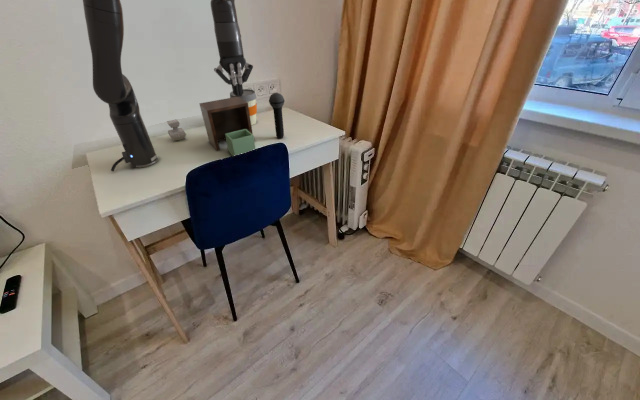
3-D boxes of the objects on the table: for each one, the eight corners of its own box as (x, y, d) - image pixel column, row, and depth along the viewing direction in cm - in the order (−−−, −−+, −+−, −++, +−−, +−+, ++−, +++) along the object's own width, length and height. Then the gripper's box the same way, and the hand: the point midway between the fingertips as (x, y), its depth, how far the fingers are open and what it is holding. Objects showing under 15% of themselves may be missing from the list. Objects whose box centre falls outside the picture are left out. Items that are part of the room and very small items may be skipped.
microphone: (276, 141, 126) (271, 96, 114) (271, 136, 130) (265, 92, 118) (289, 138, 128) (286, 93, 116) (284, 133, 133) (280, 90, 121)
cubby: (216, 150, 119) (206, 110, 108) (209, 141, 126) (199, 103, 116) (253, 141, 126) (247, 102, 116) (244, 133, 134) (238, 96, 123)
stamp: (188, 140, 127) (183, 122, 122) (173, 144, 124) (166, 125, 119) (184, 133, 133) (178, 116, 128) (169, 137, 131) (163, 119, 126)
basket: (235, 158, 113) (231, 140, 108) (228, 151, 118) (224, 133, 113) (256, 153, 117) (253, 135, 112) (248, 146, 122) (245, 128, 117)
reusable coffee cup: (248, 128, 138) (243, 97, 129) (229, 124, 143) (223, 93, 134) (264, 120, 147) (260, 91, 138) (246, 116, 152) (242, 87, 143)
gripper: (244, 36, 93) (252, 90, 103) (203, 39, 87) (216, 96, 97) (253, 38, 88) (261, 95, 98) (210, 41, 82) (223, 102, 92)
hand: (238, 95), depth 97 cm, fingers closed
